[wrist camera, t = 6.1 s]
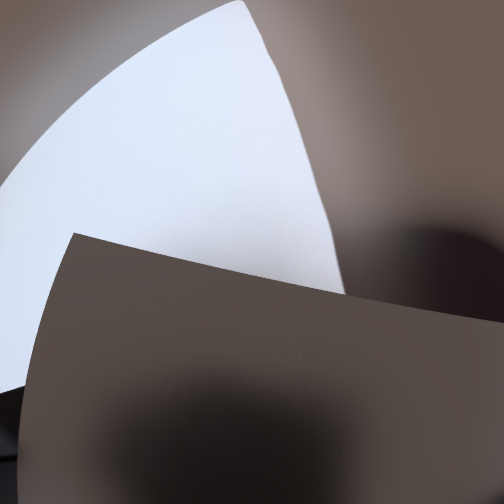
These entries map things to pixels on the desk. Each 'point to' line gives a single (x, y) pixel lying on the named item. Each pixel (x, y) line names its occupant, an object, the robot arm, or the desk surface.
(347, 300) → the block
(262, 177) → the desk surface
